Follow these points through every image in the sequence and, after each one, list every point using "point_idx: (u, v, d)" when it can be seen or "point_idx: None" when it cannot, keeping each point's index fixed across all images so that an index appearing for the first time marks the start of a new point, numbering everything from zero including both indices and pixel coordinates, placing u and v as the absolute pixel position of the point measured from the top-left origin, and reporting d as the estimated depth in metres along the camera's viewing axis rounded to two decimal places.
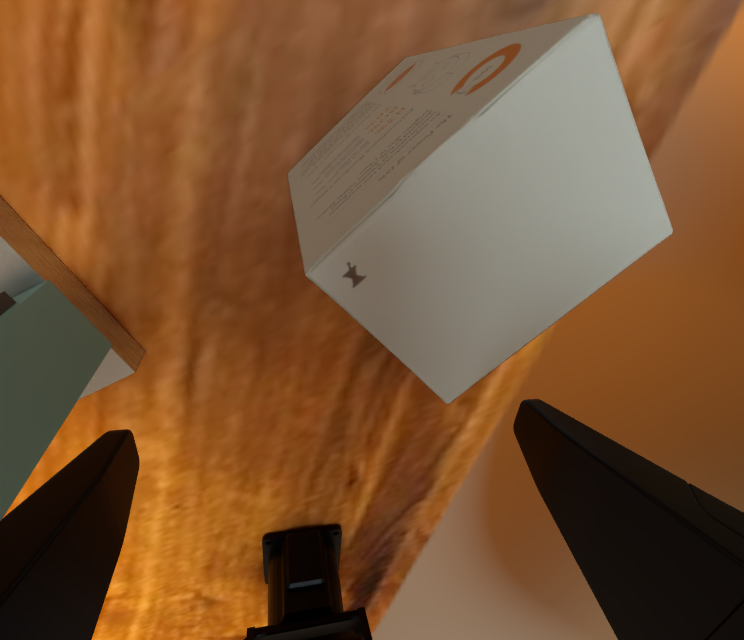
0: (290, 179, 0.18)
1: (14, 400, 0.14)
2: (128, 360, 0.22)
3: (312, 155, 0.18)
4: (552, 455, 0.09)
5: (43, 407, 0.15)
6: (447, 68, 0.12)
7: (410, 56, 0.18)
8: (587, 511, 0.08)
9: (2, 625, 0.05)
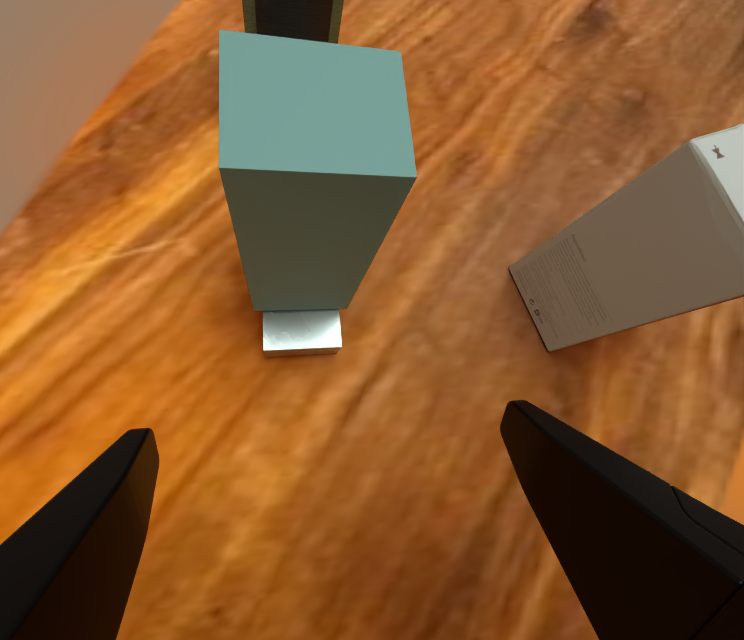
0: (526, 255, 0.25)
1: None
2: None
3: None
4: (537, 457, 0.09)
5: None
6: None
7: None
8: (571, 513, 0.08)
9: (39, 619, 0.05)
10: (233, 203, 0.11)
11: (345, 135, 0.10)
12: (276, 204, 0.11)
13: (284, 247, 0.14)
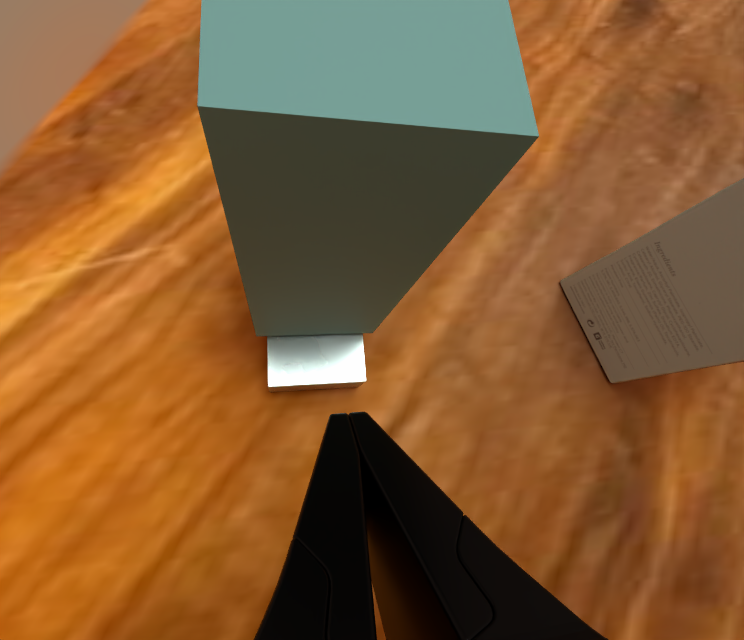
0: (585, 267, 0.21)
1: None
2: None
3: None
4: None
5: None
6: None
7: None
8: (377, 542, 0.07)
9: None
10: (226, 181, 0.07)
11: (419, 63, 0.06)
12: (297, 184, 0.07)
13: (302, 256, 0.09)
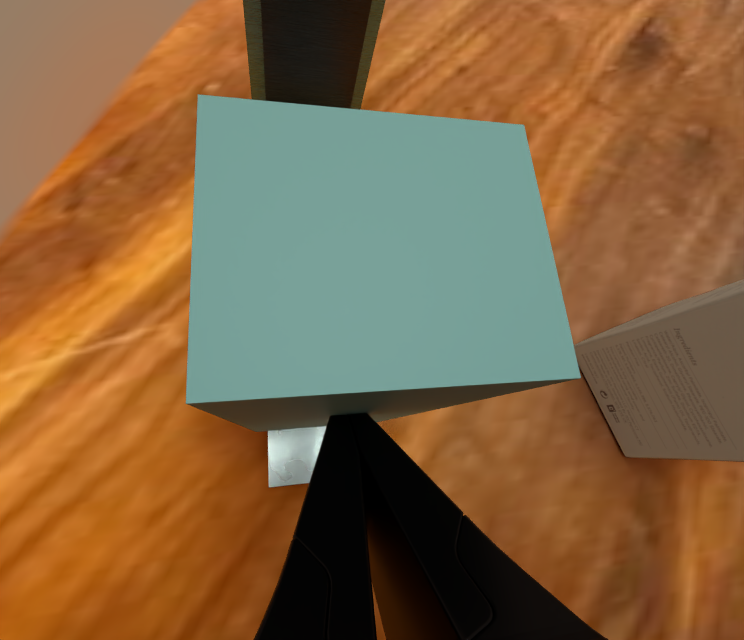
0: (598, 337, 0.20)
1: None
2: None
3: (618, 327, 0.21)
4: None
5: None
6: None
7: None
8: (377, 542, 0.07)
9: None
10: (222, 412, 0.06)
11: (443, 299, 0.05)
12: (301, 407, 0.06)
13: (306, 417, 0.09)
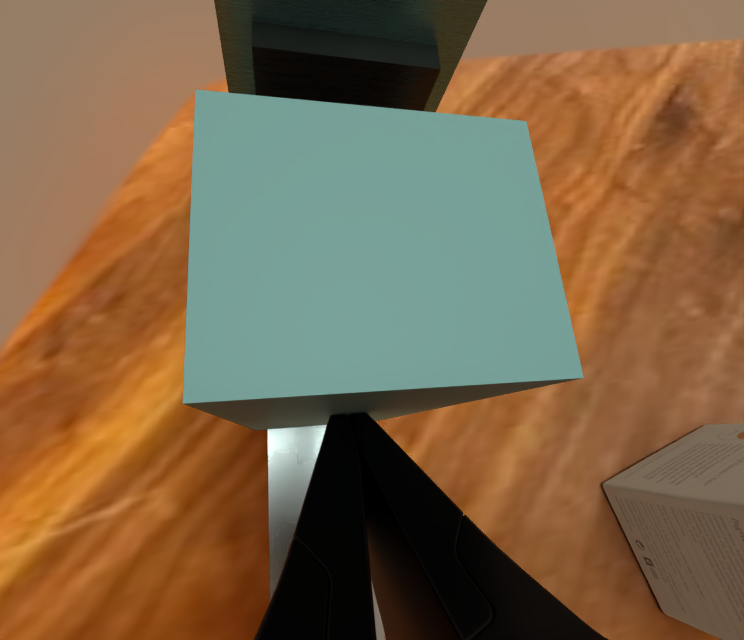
0: (635, 486, 0.18)
1: None
2: None
3: (656, 471, 0.19)
4: None
5: None
6: None
7: (721, 424, 0.21)
8: (376, 542, 0.07)
9: None
10: (220, 411, 0.06)
11: (444, 297, 0.05)
12: (301, 406, 0.06)
13: (306, 416, 0.09)
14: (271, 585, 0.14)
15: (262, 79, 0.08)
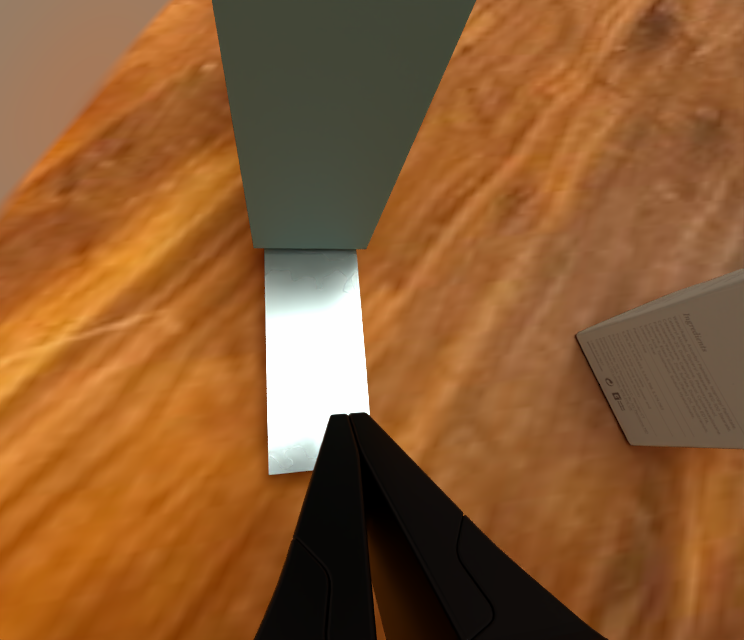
0: (604, 324, 0.20)
1: None
2: None
3: (625, 314, 0.20)
4: None
5: None
6: None
7: None
8: (377, 542, 0.07)
9: None
10: None
11: None
12: (284, 1, 0.07)
13: (293, 115, 0.10)
14: (268, 375, 0.16)
15: None
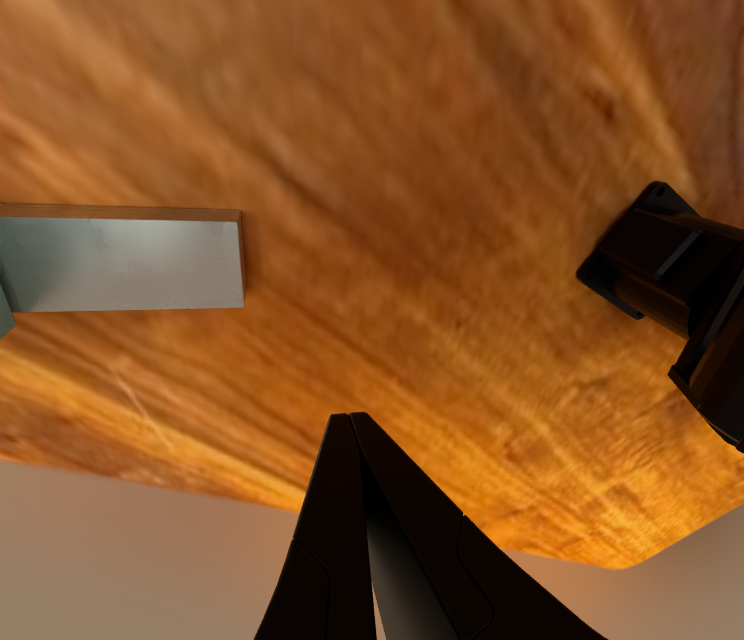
0: None
1: None
2: (221, 219, 0.17)
3: None
4: None
5: None
6: None
7: None
8: (376, 542, 0.07)
9: None
10: None
11: None
12: None
13: None
14: (156, 307, 0.18)
15: None
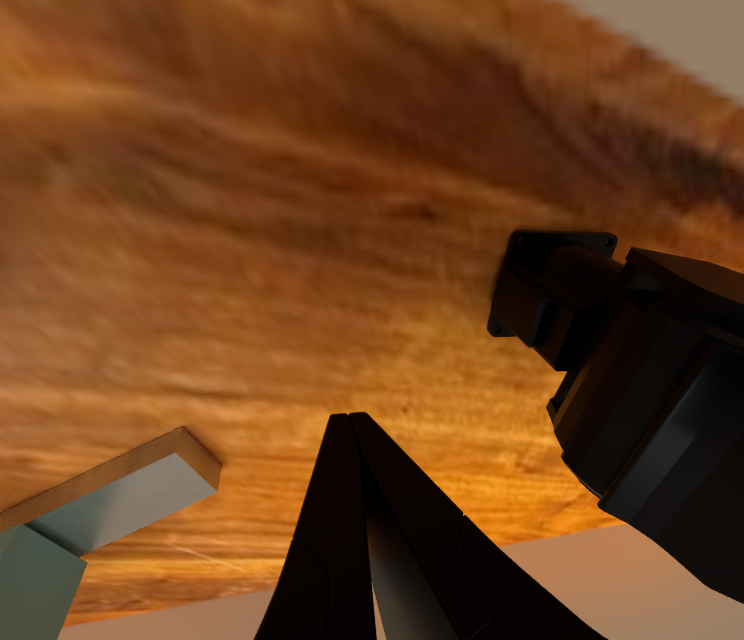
0: None
1: None
2: (165, 453, 0.22)
3: None
4: None
5: None
6: None
7: None
8: (377, 542, 0.07)
9: None
10: None
11: None
12: None
13: None
14: (162, 517, 0.24)
15: None
